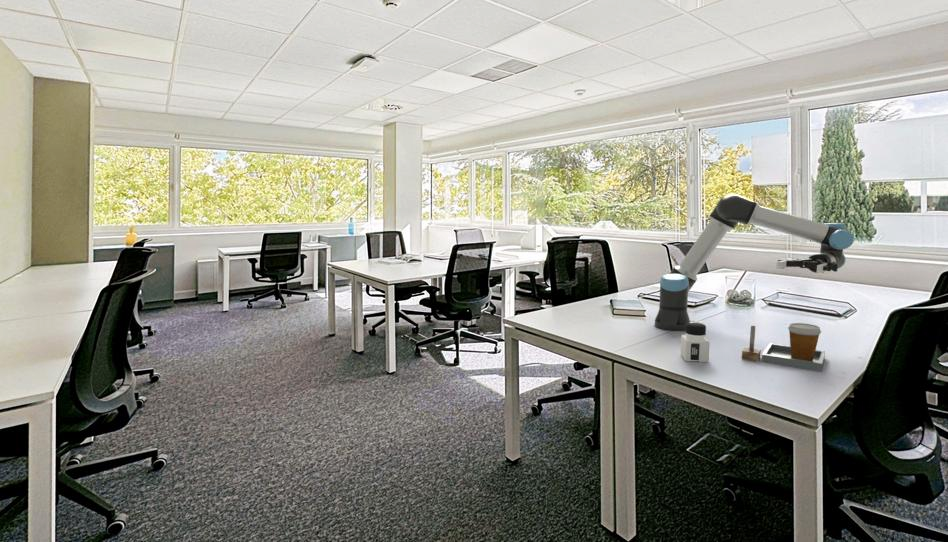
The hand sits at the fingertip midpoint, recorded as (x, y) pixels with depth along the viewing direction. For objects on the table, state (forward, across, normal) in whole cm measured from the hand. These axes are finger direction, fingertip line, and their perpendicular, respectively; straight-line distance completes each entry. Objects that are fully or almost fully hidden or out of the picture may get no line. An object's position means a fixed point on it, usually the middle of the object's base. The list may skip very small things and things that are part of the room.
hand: (797, 267), depth 179 cm
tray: (+17, -8, -31) cm, 36 cm away
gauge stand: (+27, +2, -31) cm, 41 cm away
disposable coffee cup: (+16, -10, -31) cm, 36 cm away
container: (+43, +14, -31) cm, 55 cm away
